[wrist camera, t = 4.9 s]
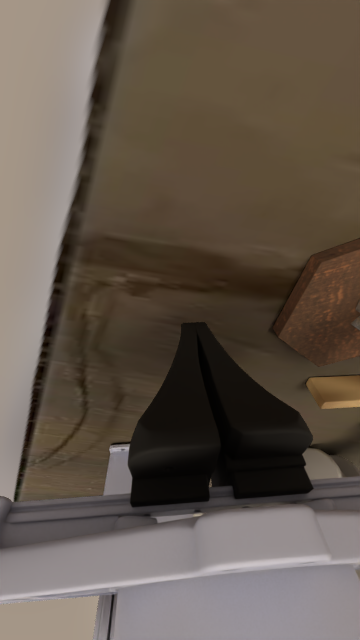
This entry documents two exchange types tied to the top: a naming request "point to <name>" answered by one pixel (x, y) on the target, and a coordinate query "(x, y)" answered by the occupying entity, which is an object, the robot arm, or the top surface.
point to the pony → (328, 468)
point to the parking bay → (335, 391)
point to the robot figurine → (325, 307)
